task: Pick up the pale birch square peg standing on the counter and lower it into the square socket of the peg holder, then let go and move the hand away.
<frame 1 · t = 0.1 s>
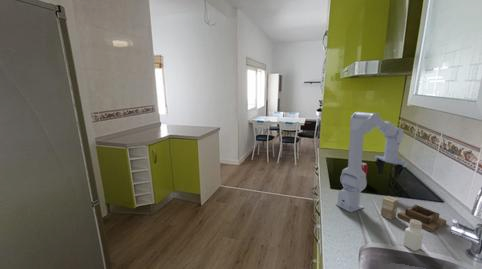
hand: (388, 176, 112), 10 cm above the counter, tool pointing down, fingers open, 7 cm apart
beverage can: (359, 182, 129), on the counter
salt shaker: (411, 247, 75), on the counter
peg holder: (420, 220, 91), on the counter
birch peg: (388, 216, 94), on the counter
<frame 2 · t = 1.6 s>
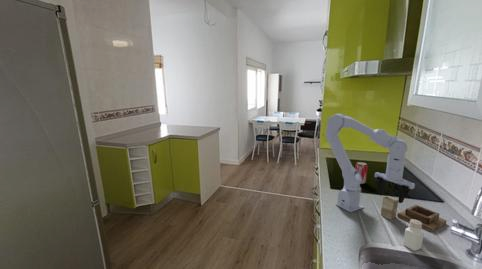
hand: (390, 198, 92), 8 cm above the counter, tool pointing down, fingers open, 7 cm apart
nothing on the counter moved.
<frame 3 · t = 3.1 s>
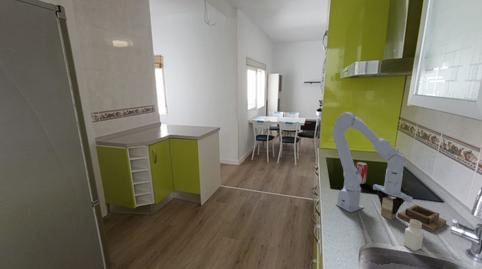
hand: (388, 210, 93), 2 cm above the counter, tool pointing down, fingers closed on birch peg, 4 cm apart
birch peg: (388, 216, 94), on the counter, touching gripper
everything else where it was.
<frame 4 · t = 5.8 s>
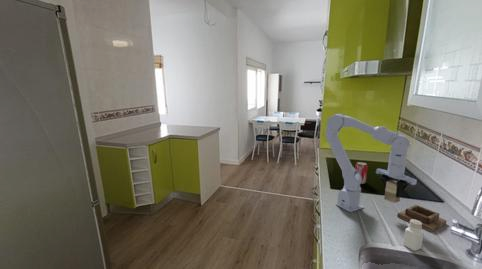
hand: (392, 194, 92), 10 cm above the counter, tool pointing down, fingers closed on birch peg, 4 cm apart
birch peg: (391, 200, 92), point 7 cm above the counter, touching gripper
everything else where it was.
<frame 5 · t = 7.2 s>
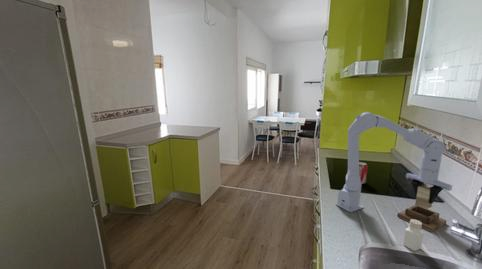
hand: (424, 200, 89), 9 cm above the counter, tool pointing down, fingers closed on birch peg, 4 cm apart
birch peg: (423, 205, 89), point 7 cm above the counter, touching gripper
everything else where it was.
when the fingers open (5 cm above the counter, at t = 8.4 s): birch peg stays where it is, resting on peg holder.
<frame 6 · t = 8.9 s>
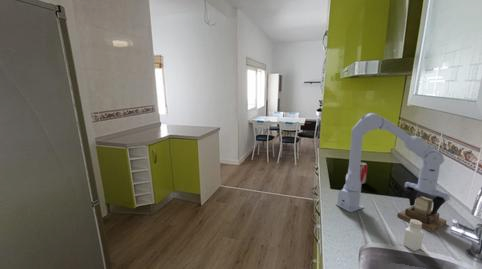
hand: (422, 209, 90), 5 cm above the counter, tool pointing down, fingers open, 7 cm apart
birch peg: (421, 216, 90), point 1 cm above the counter, touching peg holder
everything else where it was.
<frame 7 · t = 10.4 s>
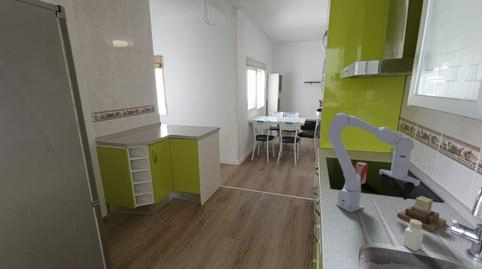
hand: (395, 195, 92), 9 cm above the counter, tool pointing down, fingers open, 7 cm apart
nothing on the counter moved.
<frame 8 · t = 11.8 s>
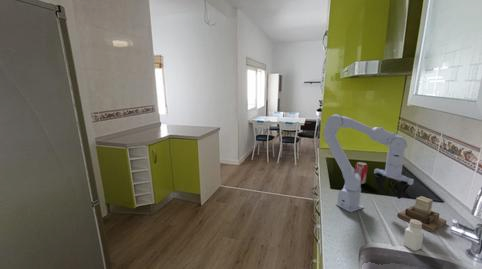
hand: (389, 194, 93), 9 cm above the counter, tool pointing down, fingers open, 7 cm apart
nothing on the counter moved.
at the end: birch peg 0.0 cm off-centre on the peg holder, point 1.5 cm above the peg holder's base; birch peg tilted 0°; the gripper is holding nothing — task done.
